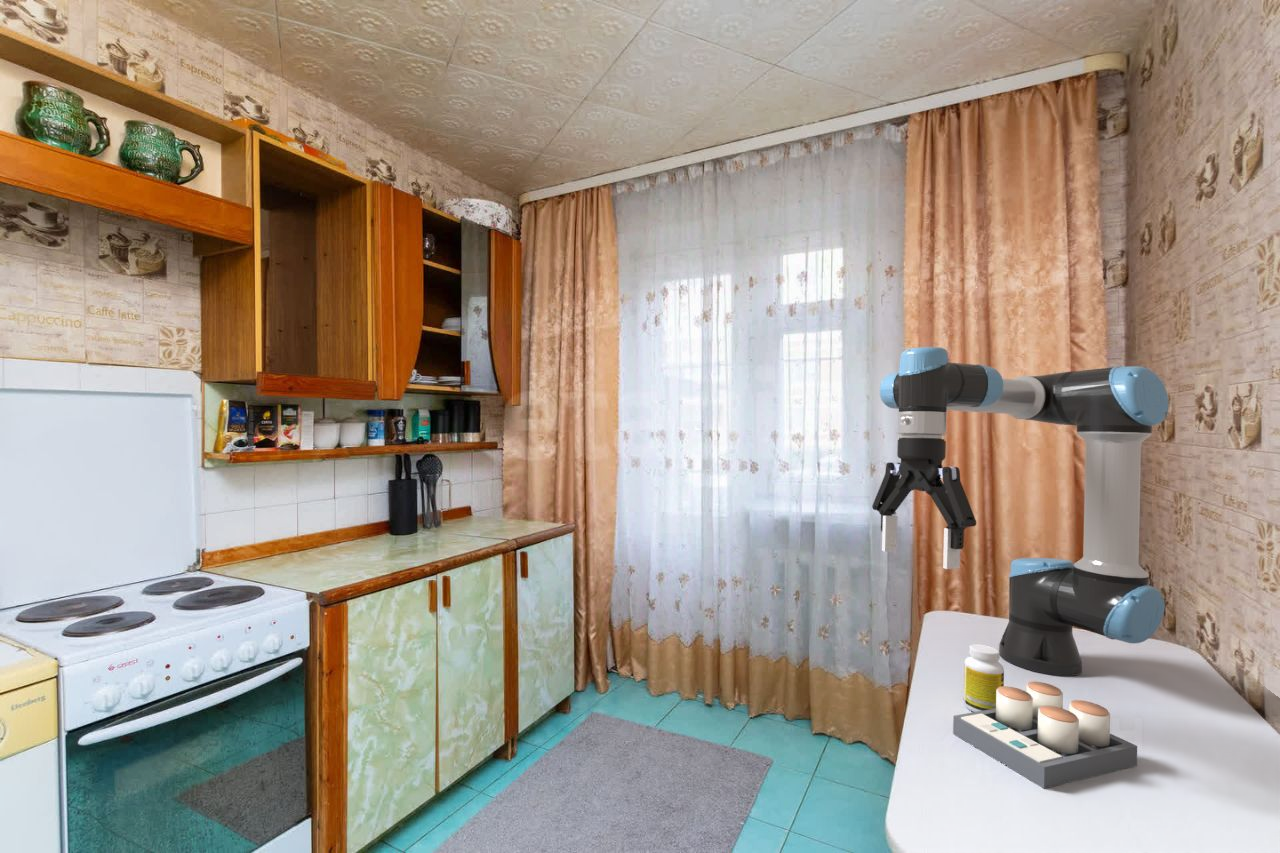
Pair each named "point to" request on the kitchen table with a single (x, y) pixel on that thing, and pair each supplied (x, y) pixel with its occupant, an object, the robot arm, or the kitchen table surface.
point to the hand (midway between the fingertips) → (918, 559)
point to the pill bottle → (982, 678)
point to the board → (1041, 751)
